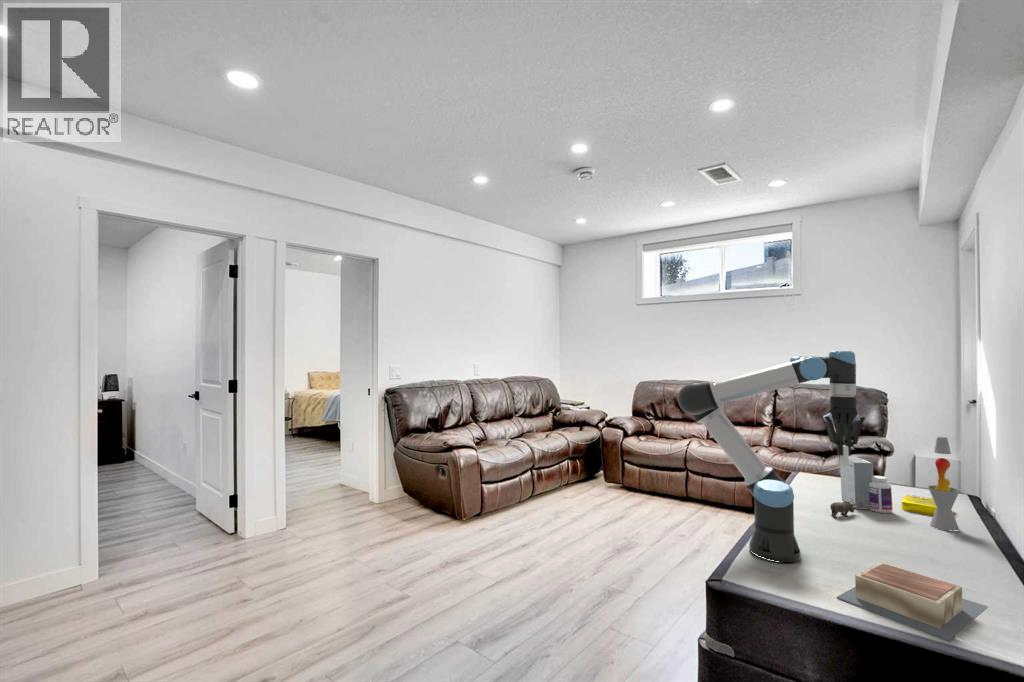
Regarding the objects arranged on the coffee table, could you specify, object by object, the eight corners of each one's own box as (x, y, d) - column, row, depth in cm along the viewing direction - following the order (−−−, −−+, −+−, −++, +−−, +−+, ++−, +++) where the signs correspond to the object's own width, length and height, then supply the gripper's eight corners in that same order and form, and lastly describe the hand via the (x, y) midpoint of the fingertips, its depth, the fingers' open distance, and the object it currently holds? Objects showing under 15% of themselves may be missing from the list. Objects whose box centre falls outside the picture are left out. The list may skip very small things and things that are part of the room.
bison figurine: (861, 515, 202) (860, 501, 202) (836, 519, 198) (836, 504, 198) (851, 512, 206) (851, 498, 206) (827, 516, 202) (827, 501, 202)
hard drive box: (875, 510, 208) (873, 463, 209) (855, 509, 210) (853, 462, 211) (859, 500, 223) (857, 456, 224) (840, 499, 225) (838, 455, 226)
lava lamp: (958, 533, 181) (955, 439, 182) (927, 527, 188) (924, 436, 189) (962, 528, 187) (959, 437, 188) (931, 522, 194) (929, 434, 195)
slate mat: (881, 573, 148) (881, 572, 148) (988, 608, 128) (988, 606, 128) (836, 598, 133) (836, 596, 133) (950, 641, 113) (950, 640, 113)
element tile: (900, 510, 209) (900, 499, 209) (906, 503, 220) (906, 492, 220) (947, 519, 198) (947, 507, 199) (951, 511, 209) (950, 500, 209)
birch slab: (880, 561, 142) (855, 574, 133) (961, 586, 126) (939, 602, 118) (881, 582, 141) (855, 597, 133) (962, 610, 126) (939, 628, 118)
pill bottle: (892, 510, 209) (890, 476, 209) (893, 515, 202) (891, 480, 203) (868, 507, 213) (867, 474, 214) (869, 511, 207) (867, 477, 207)
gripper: (828, 396, 163) (829, 466, 163) (870, 397, 162) (871, 468, 161) (817, 394, 171) (818, 462, 170) (856, 395, 169) (858, 463, 169)
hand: (844, 464), depth 166 cm, fingers closed
